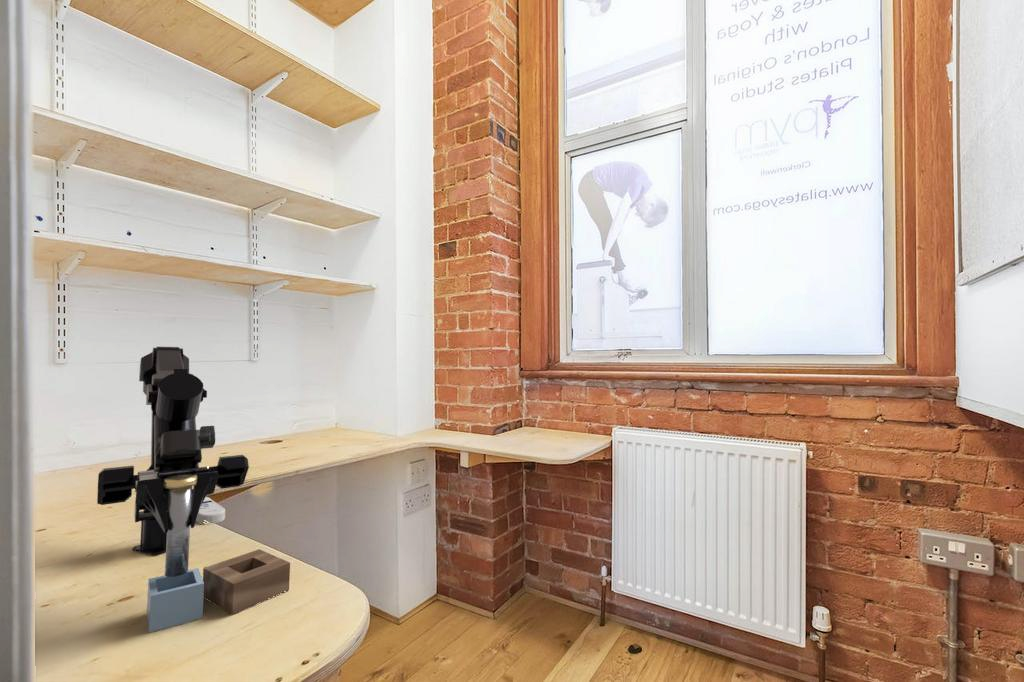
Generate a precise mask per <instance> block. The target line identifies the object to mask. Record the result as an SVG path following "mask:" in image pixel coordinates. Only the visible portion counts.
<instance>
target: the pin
mask: <svg viewBox="0 0 1024 682" xmlns="http://www.w3.org/2000/svg"><path fill="white" fill-rule="evenodd" d="M196 484H197V476H196V475H190V474H187V475H176V476H171V477H168V478H165V479H164V487H165V488H168V489H169V499H168V532H167V541H166V552H165V565H164V566H165V567H164V575H165V576H167V577H176V576H180V575H183V574H185V573H187V572H188V570H189V561H190V560H189V557H190V540H191V539H190V537H191V526H190V519H191V498H192V489H193V486H194V485H196Z"/></svg>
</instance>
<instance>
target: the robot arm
mask: <svg viewBox="0 0 1024 682" xmlns="http://www.w3.org/2000/svg"><path fill="white" fill-rule="evenodd" d="M138 373H139V374H138V375H139V378H138V381H139V382H142V392H143V393H144V395H145V396H146V399H145V400H146V401H145V403H146V404H145V405H146V406H150V410H151V431H150V432H151V438H150V439H151V443H150V446H151V447H150V465H149V467H148V468H147V469H146V470H142V471H138V472H137V474H135V466H134V465H128V466H126V465H125V466H118V467H117V466H116V467H106V468H102V470H101V471H99V472H98V477H97V499H96V501H97V502H96V503H97V505H101V506H103V505H104V506H105V505H111V504H118V503H125V502H127V501H128V500H130V498H131V497H132V496H133V495H132V494H133V493H132V492H133V489H134V492H135V500H134V523H139V522H140V523H141V525H140V544H138V545H136V546H134V547H133V546H132V548H131V551H132V552H137V553H143V554H146V555H147V554H148V555H153V556H157V555H161V554H163V553H166V541H167V532H168V499H169V489H168V488H165V487H164V479H165V478H168V477H171V476H176V475H187V474H190V475H196V476H197V484H196V485H194V489H193V488H192V498H191V519H190V529H193V528H195V525H196V523H197V521H196V519H197V516H198V513H199V510H200V507H201V505H202V503H203V501H204V499H205V497H207V496H209V495H213V494H214V493H215V490H216V487H218V488H219V489H229V488H236V487H237V488H238V487H240V486H242V485H244V483H245V481H246V477H247V474H248V471H249V468H250V466H249V459H248V458H247V457H246V456H245V455H244V454H238V455H236V454H235V455H224V456H219V457H218V462H217V465H214V466H200V463H202V459H203V457H202V456H203V455H202V450H204V449H213V448H214V446H215V445H216V431H215V430H216V429H215V425H202V426H200V428H199V429H197V424H196V423H197V422H196V417H197V416H198V414H199V411H200V406H201V403H202V402H203V401H204V398H205V399H206V398H207V397H208V390H206V389H205V388H204V383H203V381H202V380H201V379H200V378H199V377H197V375H195V374H193V373H190V358H189V357H188V356H186V355H185V354H184V348H181V347H179V346H156V347H152V351H151V352H149V353H148V354H146V355H144V356H142V357H141V358H140V363H139V372H138Z"/></svg>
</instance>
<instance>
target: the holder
mask: <svg viewBox="0 0 1024 682" xmlns="http://www.w3.org/2000/svg"><path fill="white" fill-rule="evenodd" d="M147 582H148V583H147V603H146V618H147V619H146V620H147V626H148V633H149V634H150V633H154V632H157V631H161V630H165V629H168V628H171V627H176V626H179V625H183V624H186V623H187V624H188V623H190V622H193V621H197V620H201V619H203V615H204V613H203V612H204V598H203V596H204V582H203V575H201V572H200V568H199V567H197V568H192V569H188V572H187V573H185V574H183V575H180V576H176V577H167V576H165V574H164V575H160V576H156V577H150V578H148V581H147Z"/></svg>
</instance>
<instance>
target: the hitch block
mask: <svg viewBox="0 0 1024 682" xmlns="http://www.w3.org/2000/svg"><path fill="white" fill-rule="evenodd" d="M290 574H291V562H289V561H288V560H285V559H283V558H281V557H278V556H276V555H274V554H271V553H269V552H267V551H265V550H262V549H259V548H258V549H256V550H253V551H250V552H247V553H244V554H241V555H238V556H235V557H232V558H230V559H226V560H222V561H220V562H217V563H214V564H211V565H209V566H205V567H203V570H202V579H203V582H204V596H203V597H204V598H203V599H205V598H206V599H205V600H207V599H208V600H210V601H211V602H210V601H209V602H210V603H212V604H213V603H214V605H215V604H216V605H215V606H217V607H218V606H219V607H218V608H220V609H222V610H223V609H224V611H225V612H226V613H229V614H230V615H232V616H233V615H235V613H236V614H238V613H241V612H243V611H245V610H247V609H249V607H250V608H252V607H254V606H257V605H258V604H257V603H259V602H261V603H263V602H265V601H264V600H266V601H268V600H269V599H268V598H270V599H272V598H271V597H273V596H275V597H277V596H279V595H278V594H280V593H282V592H284V591H287V590H289V591H290V576H291V575H290ZM287 592H288V591H287ZM284 593H285V592H284ZM282 594H283V593H282ZM276 595H277V596H276ZM280 595H281V594H280ZM273 598H274V597H273ZM267 599H268V600H267ZM208 600H207V601H208ZM262 601H263V602H262ZM256 604H257V605H256ZM259 604H260V603H259ZM251 606H252V607H251Z"/></svg>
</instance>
